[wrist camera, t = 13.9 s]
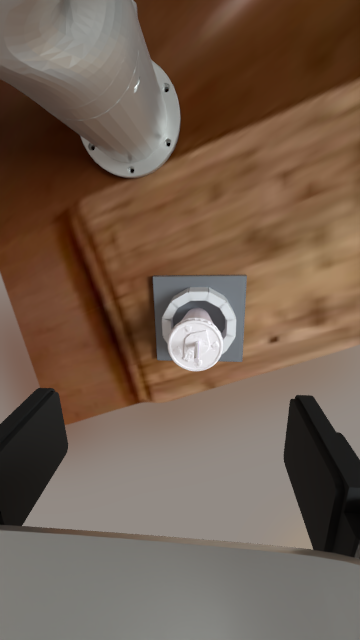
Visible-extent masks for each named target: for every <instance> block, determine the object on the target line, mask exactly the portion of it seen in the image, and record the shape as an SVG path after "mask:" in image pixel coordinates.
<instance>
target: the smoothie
mask: <svg viewBox="0 0 360 640" xmlns="http://www.w3.org/2000/svg"><path fill="white" fill-rule="evenodd" d="M168 351H169V354H170V356H171V358H172V360H173V361H174V362H175V363H176V364H177V365H178V366H180V367H182V368H184V369H186V370H190V371H202V370H205V369H208V368H210V367H212V366H213V365H214V364H215V363H216V362H217V361H218V360H219V358H220V357H221V354H222V351H223V338H222V335H221V333H220V331H219V330H218V328H217V327H216V326H215V325H214V324H213V322H212V320H211V318H210V316H209V314H208V313H207V311H205V310H204V309H202V308H193V309H191V310H189V311H188V312H187V314H186V315H185V316H184V318H183V319H182V321H181V322H179V323H178V324H176V325H175V326H174V328H173V329H172V330H171V332H170V334H169V338H168Z"/></svg>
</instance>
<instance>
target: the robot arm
mask: <svg viewBox="0 0 360 640" xmlns="http://www.w3.org/2000/svg"><path fill="white" fill-rule="evenodd" d="M0 79H1V80H3V81H5V82H7V83H8V84H10V85H12V86H13V87H15V88H16V89H18V90H19V91H21V92H22V93H24V94H25V95H27V96H28V97H29V98H31V99H32V100H34V101H35V102H36V103H38V104H39V105H40V106H41V107H43V108H44V109H45V110H47V111H48V112H49V113H51V114H52V115H53V116H55V117H56V118H57V119H59V120H60V121H62V122H63V123H64V124H66V125H67V126H68V127H70V128H71V129H72V130H74V131H75V132H76V133H78V134H79V135H80V137H81V139H82V142H83V144H84V146H85V148H86V150H87V152H88V153H89V155H90V156H91V157H92V158H93V160H94V161H95V162H96V163H97V164H99V165H100V166H101V167H102V168H103V169H105V170H107V171H108V172H110V173H112V174H114V175H117V176H120V177H124V178H138V177H143V176H146V175H148V174H151V173H153V172H154V171H156V170H157V169H158V168H160V167H161V166H162V165H163V164H164V163H165V162H166V161H167V160H168V158H169V157H170V155H171V153H172V152H173V150H174V148H175V145H176V143H177V140H178V136H179V131H180V119H181V117H180V107H179V103H178V98H177V95H176V92H175V89H174V87H173V85H172V83H171V81H170V79H169V78H168V76H167V75H166V73H165V72H164V71H163V70H162V69H161V68H160V67H159V66H158V65H157V64H156V63H154V62H153V61H152V60H151V59H150V56H149V53H148V50H147V46H146V43H145V40H144V37H143V34H142V31H141V28H140V25H139V22H138V19H137V5H136V3H135V2H134V1H133V0H0ZM166 89H169V91H168V92H165V90H166ZM167 143H170V146H169V147H168V146H167ZM93 147H95V149H94V150H93ZM132 169H134V173H131V170H132ZM67 449H68V442H67V436H66V430H65V425H64V420H63V414H62V409H61V404H60V398H59V394H58V393H57V392H55V390H54V389H52V388H38V389H37V390H36V391H34V392H33V394H31V395H30V396H29V397H28V398H27V399H26V400H25V401H24V402H23V403H22V404H21V405H20V406H19V407H18V408H17V409H16V410H15V411H13V412H12V414H11V415H9V416H8V417H7V418H6V419H5V420H4V421H3V422H2V423H1V424H0V640H360V460H359V458H358V457H357V455H356V454H355V452H354V451H353V450H352V448H351V446H350V445H349V443H348V442H347V440H346V439H345V437H344V436H343V435H342V434H341V433H337V432H336V431H335V430H334V428H333V427H332V425H331V424H330V422H329V420H328V419H327V417H326V416H325V414H324V413H323V411H322V409H321V408H320V406H319V405H318V403H317V402H316V400H315V399H314V397H313V396H306V395H297V396H296V397H295V399H291V400H290V407H289V416H288V423H287V431H286V440H285V449H284V463H285V466H286V469H287V472H288V475H289V478H290V481H291V484H292V487H293V490H294V493H295V496H296V499H297V502H298V505H299V508H300V511H301V513H302V517H303V520H304V523H305V525H306V529H307V532H308V535H309V538H310V540H311V543H312V546H313V549H314V550H311V549H302V548H293V547H282V546H273V545H262V544H252V543H241V542H228V541H215V540H204V539H191V538H179V537H166V536H153V535H139V534H126V533H113V532H99V531H85V530H72V529H56V528H42V527H28V526H22V525H23V523H24V521H25V520H26V518H27V517H28V515H29V513H30V512H31V510H32V508H33V507H34V505H35V504H36V502H37V500H38V499H39V497H40V495H41V494H42V492H43V491H44V489H45V487H46V485H47V484H48V482H49V481H50V479H51V477H52V476H53V474H54V473H55V471H56V469H57V468H58V466H59V465H60V463H61V461H62V460H63V458H64V456H65V455H66V453H67Z"/></svg>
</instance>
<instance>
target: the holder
mask: <svg viewBox="0 0 360 640" xmlns="http://www.w3.org/2000/svg"><path fill="white" fill-rule="evenodd" d="M246 279H247V276H246V275H170V276H153V289H154V308H155V326H156V344H157V360H172V358H171V356H170V354H169V351H168V338H169V334H170V332H171V330H172V329H173V328H174V326H175V325H176V324H178V323H179V322H181V321H182V319H183V318H184V316H185V315H186V314H187V312H188V311H189V310H191V309H193V308H202V309H204V310H205V311H207V313H208V314H209V316H210V318H211V320H212V322H213V324H214V325H215V326H216V327H217V328H218V330H219V331H220V333H221V335H222V338H223V351H222V354H221V357H220V358H219V360H218V361H233V362H242V355H243V336H244V317H245V298H246Z"/></svg>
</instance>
